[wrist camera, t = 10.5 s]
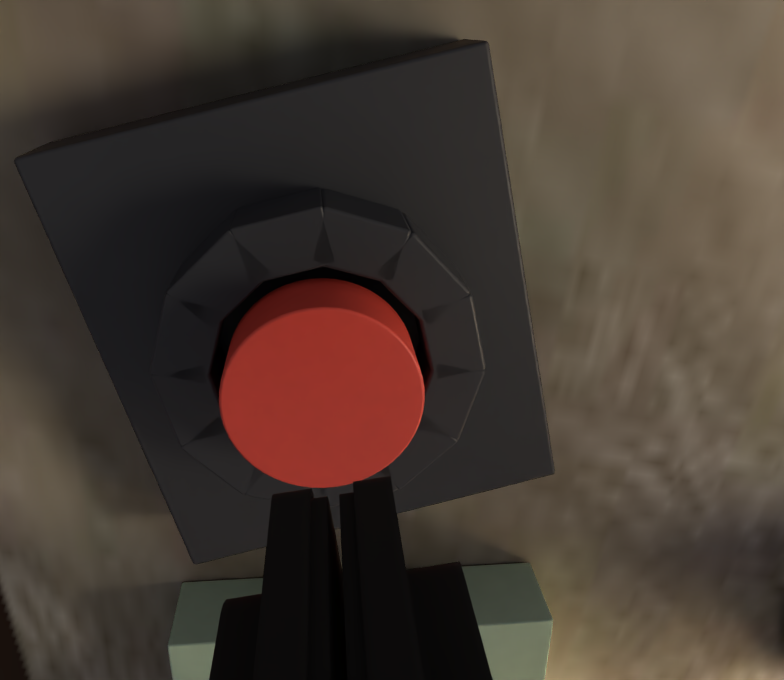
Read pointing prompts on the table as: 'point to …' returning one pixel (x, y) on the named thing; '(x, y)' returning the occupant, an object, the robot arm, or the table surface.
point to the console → (485, 582)
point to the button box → (305, 270)
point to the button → (321, 384)
